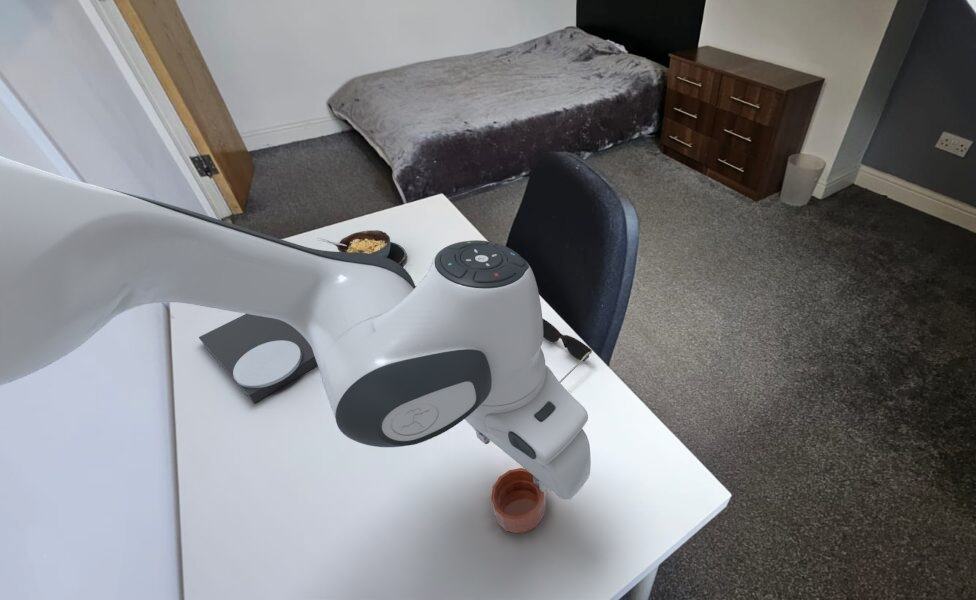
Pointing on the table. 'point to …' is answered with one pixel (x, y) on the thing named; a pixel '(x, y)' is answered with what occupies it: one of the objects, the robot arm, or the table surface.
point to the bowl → (517, 501)
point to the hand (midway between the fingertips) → (514, 459)
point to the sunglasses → (566, 343)
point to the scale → (260, 353)
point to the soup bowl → (370, 245)
